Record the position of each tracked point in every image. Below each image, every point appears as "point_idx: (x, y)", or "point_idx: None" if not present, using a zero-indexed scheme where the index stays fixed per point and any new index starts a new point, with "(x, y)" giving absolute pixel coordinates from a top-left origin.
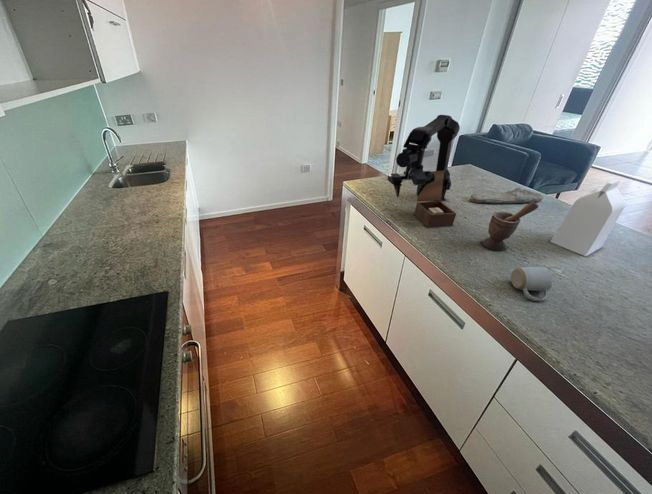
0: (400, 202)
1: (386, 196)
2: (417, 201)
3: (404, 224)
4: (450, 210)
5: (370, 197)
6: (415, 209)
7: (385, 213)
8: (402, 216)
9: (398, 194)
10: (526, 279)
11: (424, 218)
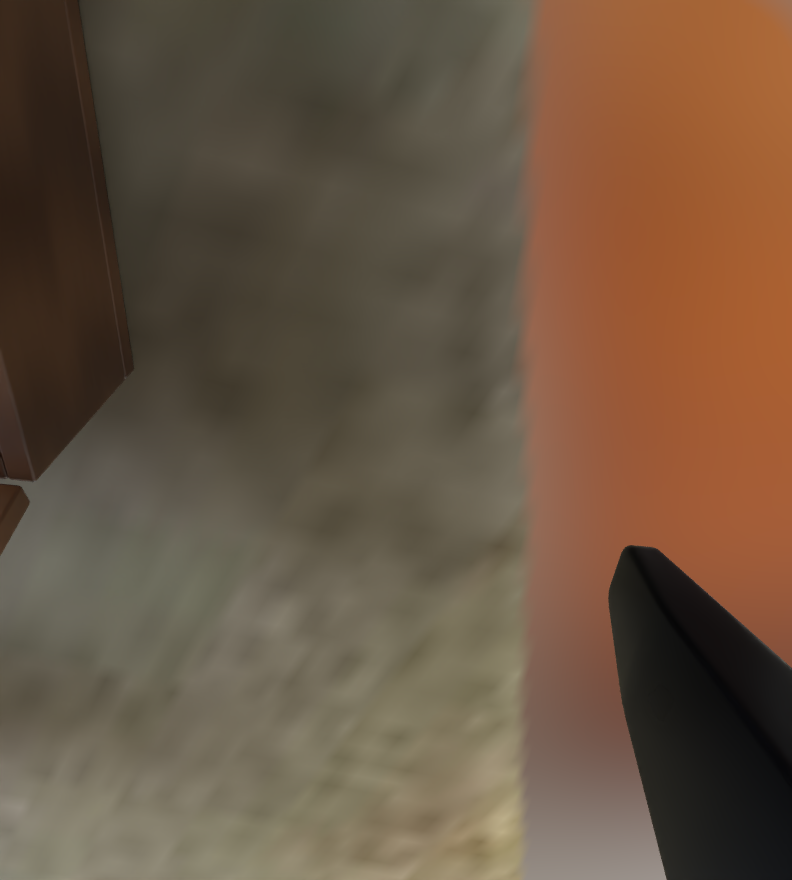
0: (196, 647)
1: (292, 764)
2: (21, 490)
3: (431, 94)
4: None
5: (466, 783)
6: (99, 404)
7: (518, 478)
8: (330, 352)
9: (691, 609)
10: None
11: (37, 57)
